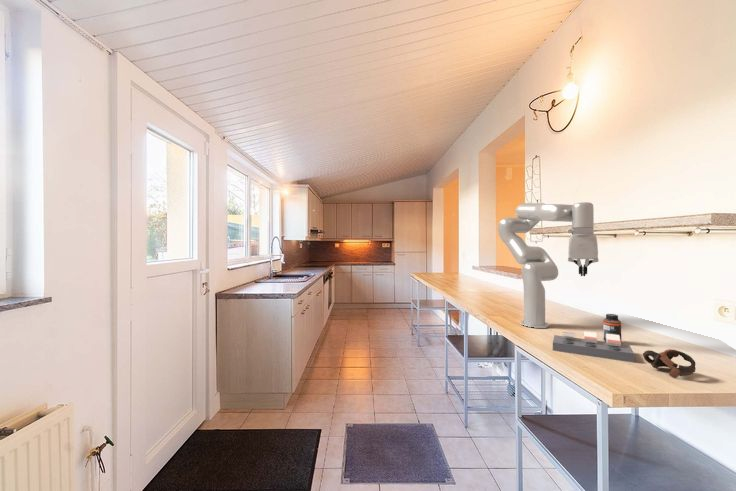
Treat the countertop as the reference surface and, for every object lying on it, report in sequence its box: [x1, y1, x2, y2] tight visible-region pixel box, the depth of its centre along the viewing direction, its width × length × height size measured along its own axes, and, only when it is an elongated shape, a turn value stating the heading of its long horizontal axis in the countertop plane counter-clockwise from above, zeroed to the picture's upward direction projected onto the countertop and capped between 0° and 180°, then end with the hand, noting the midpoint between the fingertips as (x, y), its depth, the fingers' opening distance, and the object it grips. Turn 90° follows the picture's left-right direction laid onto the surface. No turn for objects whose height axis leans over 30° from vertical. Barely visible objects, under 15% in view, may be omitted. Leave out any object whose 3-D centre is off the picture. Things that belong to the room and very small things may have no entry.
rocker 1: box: [561, 331, 576, 339], centre depth 126 cm, size 6×4×2 cm, turn 147°
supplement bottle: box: [602, 313, 623, 342], centre depth 133 cm, size 6×6×11 cm
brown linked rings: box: [642, 348, 697, 379], centre depth 100 cm, size 12×10×8 cm
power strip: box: [552, 334, 635, 363], centre depth 120 cm, size 12×24×3 cm, turn 57°
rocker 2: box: [606, 334, 622, 347], centre depth 119 cm, size 6×4×2 cm, turn 147°
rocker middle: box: [583, 331, 598, 343], centre depth 123 cm, size 6×4×2 cm, turn 147°
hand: (582, 275), depth 135 cm, fingers closed
